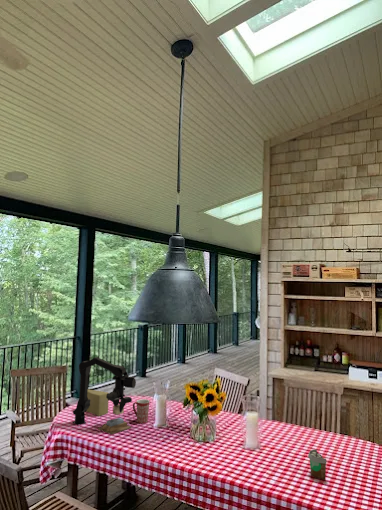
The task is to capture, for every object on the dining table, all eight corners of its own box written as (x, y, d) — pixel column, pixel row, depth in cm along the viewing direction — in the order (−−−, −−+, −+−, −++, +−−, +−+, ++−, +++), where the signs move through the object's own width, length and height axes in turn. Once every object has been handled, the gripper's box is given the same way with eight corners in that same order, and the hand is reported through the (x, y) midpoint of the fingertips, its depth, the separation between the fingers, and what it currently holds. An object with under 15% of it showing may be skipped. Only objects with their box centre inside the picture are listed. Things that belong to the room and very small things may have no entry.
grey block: (106, 428, 250) (106, 420, 251) (119, 424, 258) (119, 416, 258) (110, 430, 247) (110, 421, 248) (123, 426, 255) (123, 418, 255)
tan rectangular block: (112, 413, 254) (113, 406, 255) (119, 411, 258) (119, 404, 259) (116, 414, 252) (117, 407, 252) (123, 412, 256) (123, 405, 256)
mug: (151, 421, 268) (152, 400, 269) (143, 424, 260) (143, 403, 262) (137, 417, 275) (138, 397, 276) (128, 421, 267) (129, 400, 269)
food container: (304, 469, 200) (304, 448, 201) (316, 469, 200) (316, 448, 201) (314, 481, 188) (313, 459, 189) (326, 481, 188) (326, 459, 189)
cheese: (76, 411, 287) (77, 389, 288) (86, 407, 295) (87, 387, 296) (98, 416, 275) (99, 394, 276) (108, 413, 283) (109, 391, 284)
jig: (97, 429, 251) (97, 424, 251) (117, 423, 263) (117, 418, 263) (111, 434, 242) (112, 429, 242) (131, 428, 254) (131, 423, 254)
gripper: (100, 386, 256) (99, 411, 255) (119, 391, 244) (118, 417, 243) (113, 383, 265) (112, 407, 263) (132, 388, 253) (131, 413, 252)
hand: (118, 411), depth 255 cm, fingers closed on tan rectangular block, 4 cm apart
